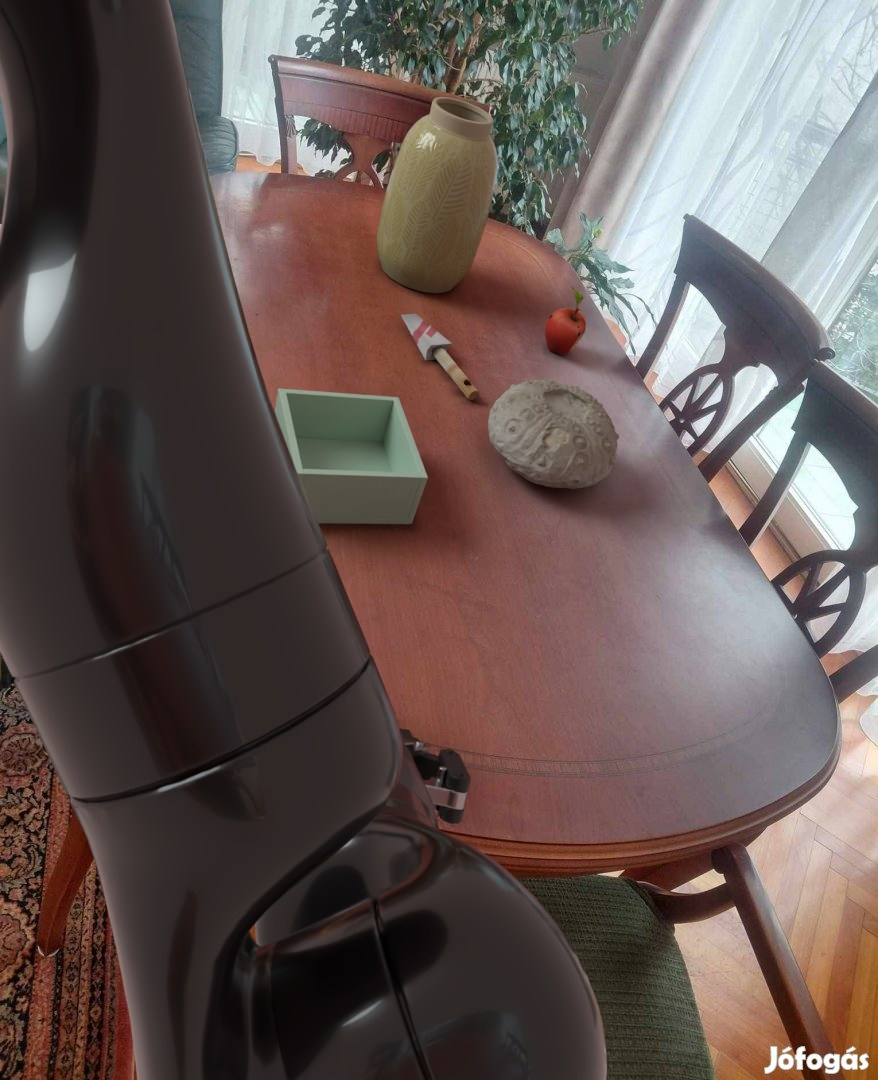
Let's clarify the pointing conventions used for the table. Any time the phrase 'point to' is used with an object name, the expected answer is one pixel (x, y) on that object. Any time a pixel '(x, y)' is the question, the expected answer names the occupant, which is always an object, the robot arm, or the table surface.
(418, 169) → the vase
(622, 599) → the table surface
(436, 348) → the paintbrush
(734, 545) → the table surface
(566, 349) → the apple
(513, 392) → the decorative shell
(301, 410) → the bin
